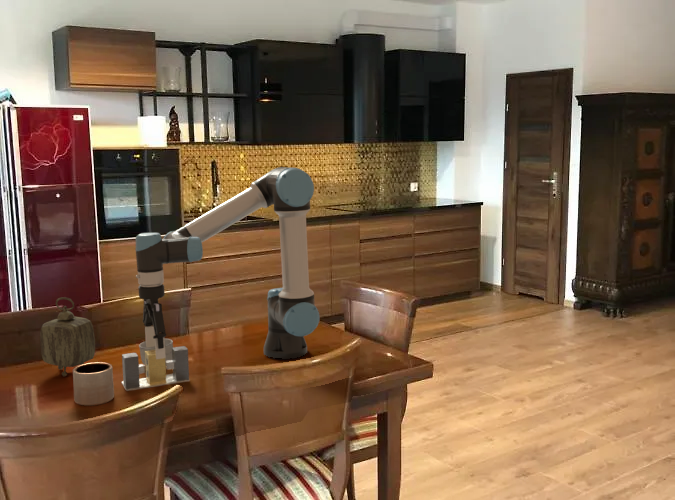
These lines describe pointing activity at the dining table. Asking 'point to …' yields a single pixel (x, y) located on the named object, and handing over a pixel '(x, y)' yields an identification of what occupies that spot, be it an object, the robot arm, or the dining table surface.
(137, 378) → the stand
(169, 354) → the teacup
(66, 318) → the weathered metal cowbell
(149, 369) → the block
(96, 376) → the planter
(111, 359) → the dining table surface
